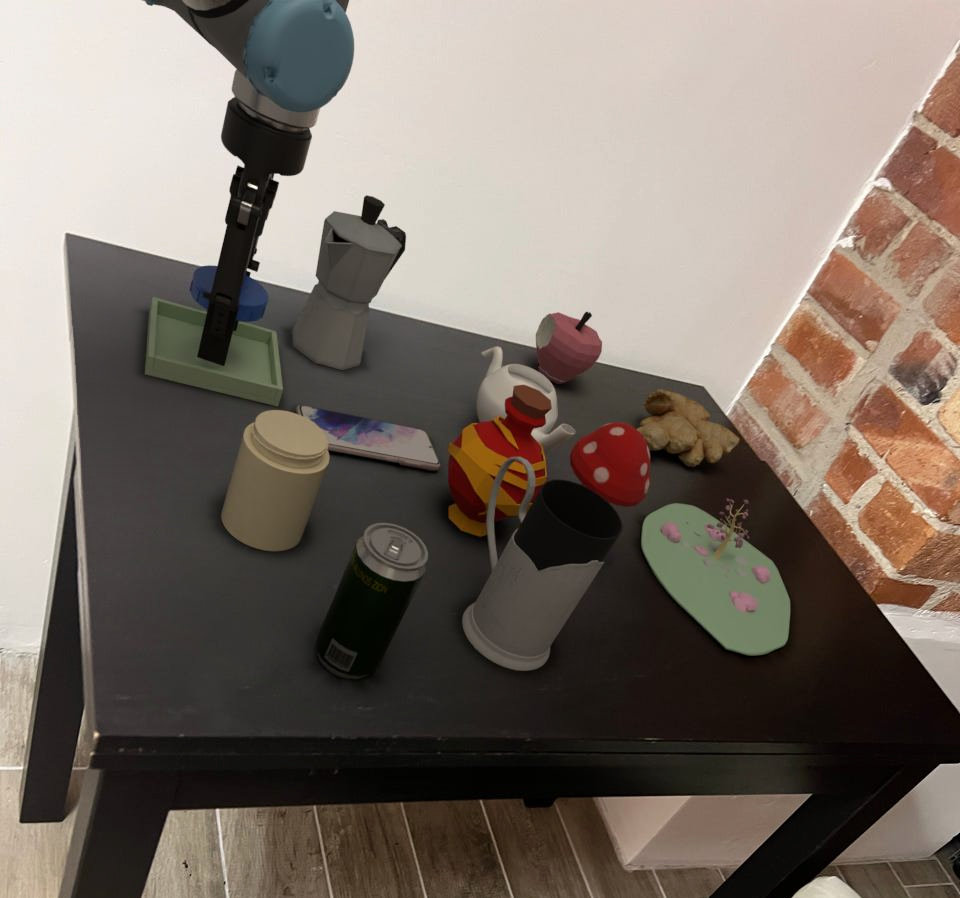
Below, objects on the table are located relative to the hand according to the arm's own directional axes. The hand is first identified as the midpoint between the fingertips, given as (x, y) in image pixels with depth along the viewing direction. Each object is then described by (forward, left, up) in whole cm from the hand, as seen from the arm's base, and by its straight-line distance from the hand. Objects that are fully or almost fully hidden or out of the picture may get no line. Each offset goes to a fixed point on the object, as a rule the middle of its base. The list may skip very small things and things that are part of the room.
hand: (217, 341), depth 94 cm
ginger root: (+63, +9, -2) cm, 64 cm away
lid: (0, 0, +6) cm, 6 cm away
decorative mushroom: (+37, -20, -2) cm, 42 cm away
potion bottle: (+26, -19, -2) cm, 32 cm away
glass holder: (+25, -33, -2) cm, 41 cm away
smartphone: (+16, -9, -2) cm, 18 cm away
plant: (+58, -21, -2) cm, 62 cm away
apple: (+47, +19, -2) cm, 51 cm away
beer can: (+10, -41, -2) cm, 42 cm away
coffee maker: (+14, +10, -2) cm, 17 cm away
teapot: (+33, -3, -2) cm, 33 cm away
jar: (+4, -26, -2) cm, 26 cm away
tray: (0, 0, -2) cm, 2 cm away
